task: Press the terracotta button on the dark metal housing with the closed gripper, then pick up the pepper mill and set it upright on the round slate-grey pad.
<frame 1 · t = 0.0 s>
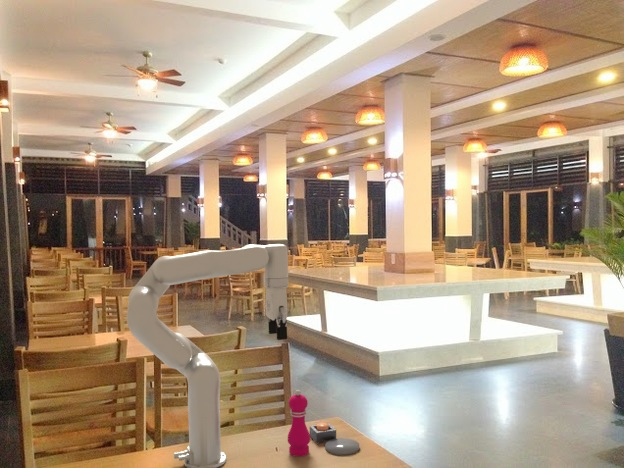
hand: (277, 336, 181), 37 cm above the table, tool pointing down, fingers open, 9 cm apart
button housing: (322, 438, 191), on the table
pepper mill: (299, 453, 180), on the table
pad: (342, 447, 183), on the table
button: (322, 428, 191), point 3 cm above the table, slide at 0.0 cm
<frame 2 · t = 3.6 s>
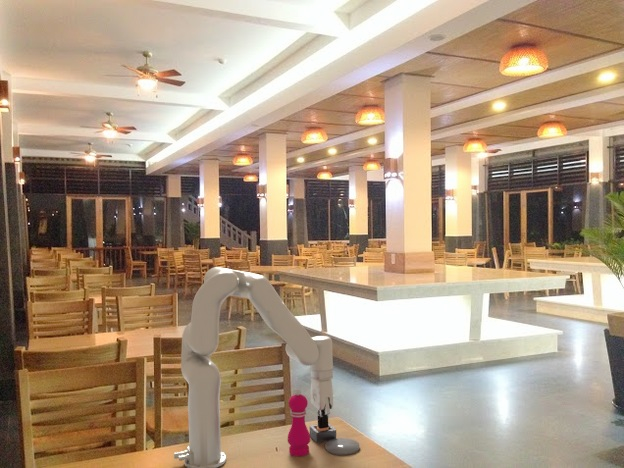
hand: (323, 427, 191), 4 cm above the table, tool pointing down, fingers closed
button: (322, 430, 191), point 2 cm above the table, slide at 0.8 cm, touching gripper
everything else where it was.
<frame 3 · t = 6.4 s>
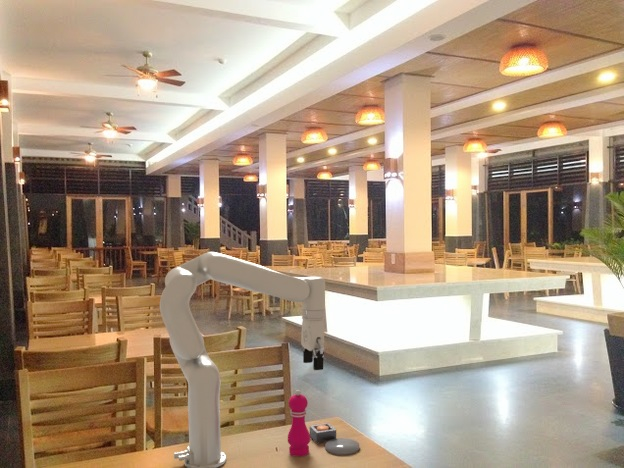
hand: (313, 366, 187), 25 cm above the table, tool pointing down, fingers open, 9 cm apart
button: (322, 431, 191), point 2 cm above the table, slide at 0.8 cm
everything else where it was.
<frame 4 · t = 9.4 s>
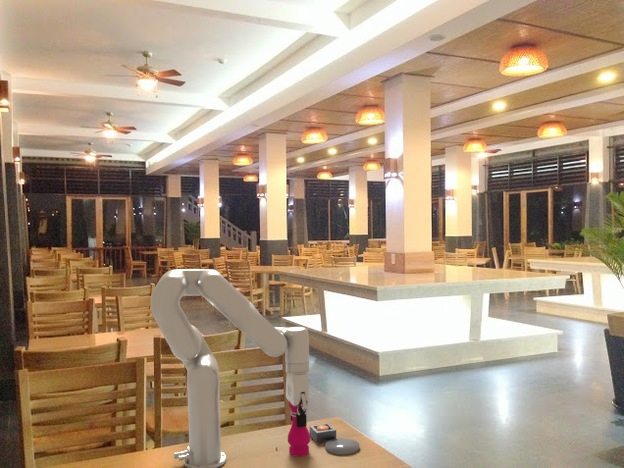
hand: (298, 422, 180), 9 cm above the table, tool pointing down, fingers closed on pepper mill, 5 cm apart
pepper mill: (299, 452, 180), on the table, touching gripper
everything else where it was.
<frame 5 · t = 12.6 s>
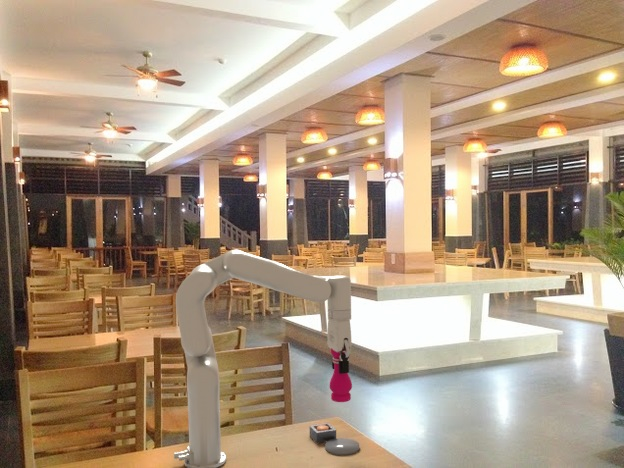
hand: (340, 370, 182), 25 cm above the table, tool pointing down, fingers closed on pepper mill, 5 cm apart
pepper mill: (341, 399, 182), point 16 cm above the table, touching gripper
everything else where it was.
when the fingers open (11 cm above the table, at t = 15.6 s): pepper mill stays where it is, resting on pad.
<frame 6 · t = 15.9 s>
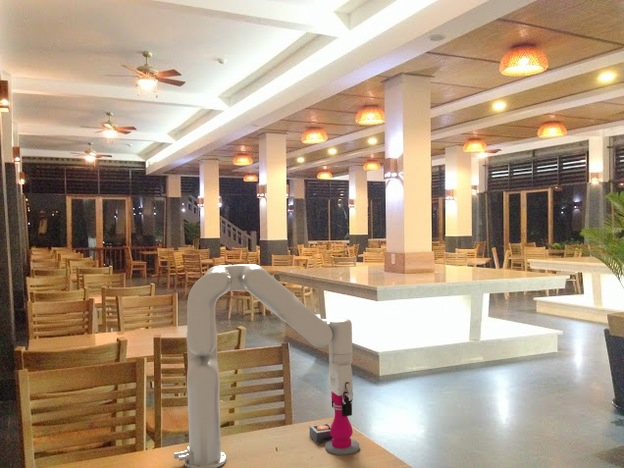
hand: (341, 411, 182), 12 cm above the table, tool pointing down, fingers open, 8 cm apart
pepper mill: (341, 445, 183), point 1 cm above the table, touching pad
everything else where it was.
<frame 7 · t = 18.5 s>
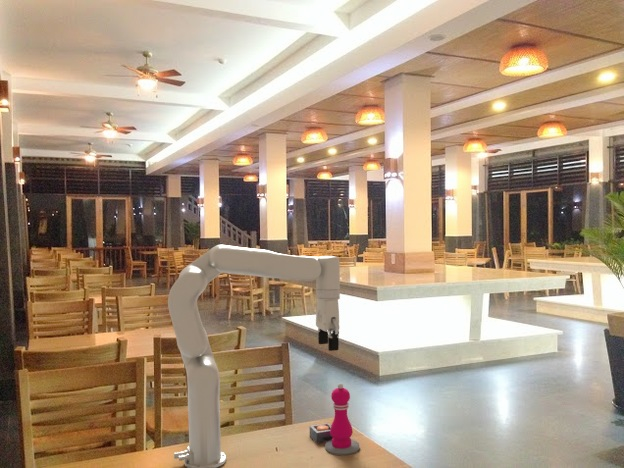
hand: (328, 347, 183), 32 cm above the table, tool pointing down, fingers open, 9 cm apart
nothing on the table moved.
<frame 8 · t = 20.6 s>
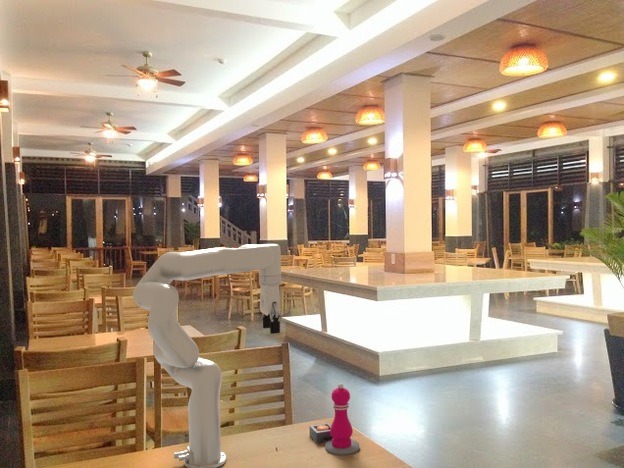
hand: (271, 330, 192), 36 cm above the table, tool pointing down, fingers open, 9 cm apart
nothing on the table moved.
at the end: pepper mill 0.2 cm off-centre on the pad, point 0.8 cm above the pad's base; pepper mill tilted 0°; button slide at 0.8 cm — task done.
